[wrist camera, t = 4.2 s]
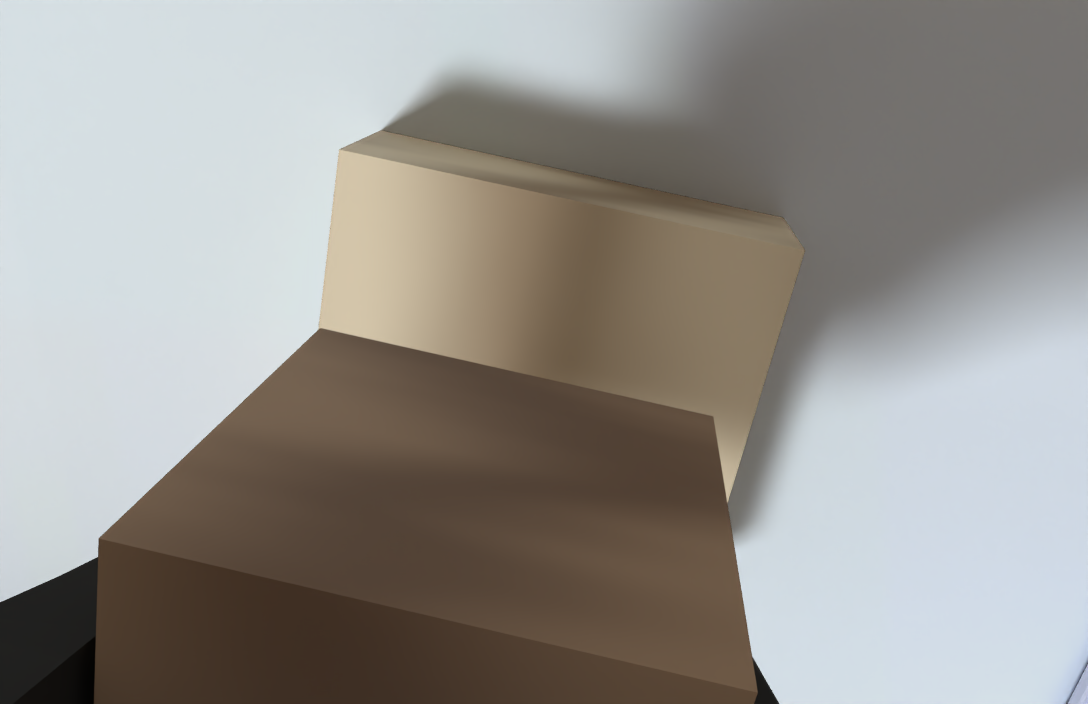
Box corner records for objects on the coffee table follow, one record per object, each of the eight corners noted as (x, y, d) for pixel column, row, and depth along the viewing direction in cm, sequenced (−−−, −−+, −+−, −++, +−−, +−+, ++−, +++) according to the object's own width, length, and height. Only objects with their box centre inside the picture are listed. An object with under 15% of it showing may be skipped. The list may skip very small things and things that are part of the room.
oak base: (780, 213, 18) (805, 250, 15) (680, 553, 21) (686, 636, 18) (385, 127, 18) (339, 149, 16) (339, 476, 21) (293, 546, 19)
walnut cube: (712, 416, 11) (757, 693, 7) (622, 729, 13) (608, 1120, 9) (320, 327, 12) (98, 538, 7) (282, 649, 13) (84, 989, 9)
